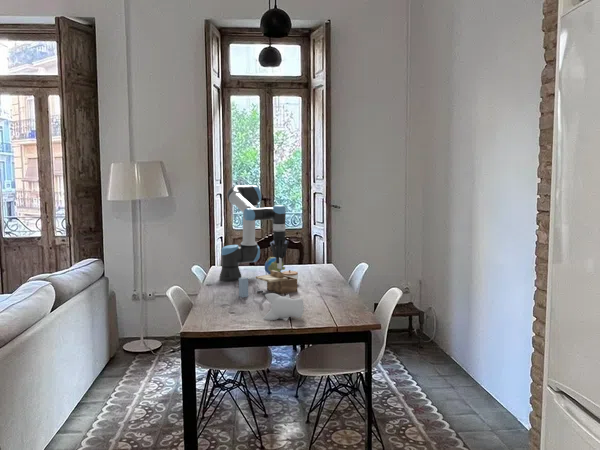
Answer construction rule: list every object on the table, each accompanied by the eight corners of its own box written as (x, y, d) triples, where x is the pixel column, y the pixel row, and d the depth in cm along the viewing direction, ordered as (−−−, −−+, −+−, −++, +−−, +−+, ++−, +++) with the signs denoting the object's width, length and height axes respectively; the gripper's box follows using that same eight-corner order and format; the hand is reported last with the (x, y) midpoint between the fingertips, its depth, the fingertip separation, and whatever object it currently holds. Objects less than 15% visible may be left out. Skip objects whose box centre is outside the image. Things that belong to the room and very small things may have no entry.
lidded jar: (288, 286, 345) (288, 272, 344) (278, 283, 353) (278, 269, 352) (301, 284, 352) (301, 270, 351) (291, 281, 360) (291, 268, 359)
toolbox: (267, 289, 336) (267, 276, 335) (283, 287, 342) (283, 274, 342) (280, 294, 323) (280, 280, 322) (297, 291, 329) (297, 278, 329)
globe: (265, 252, 388) (272, 256, 374) (284, 257, 395) (292, 261, 381) (259, 271, 388) (267, 275, 374) (279, 275, 395) (287, 280, 381)
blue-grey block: (239, 296, 318) (238, 277, 317) (245, 295, 320) (244, 277, 319) (242, 297, 314) (242, 278, 313) (248, 296, 317) (248, 278, 316)
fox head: (304, 298, 278) (266, 296, 279) (304, 293, 263) (263, 291, 263) (302, 324, 275) (264, 321, 275) (302, 321, 259) (261, 318, 260)
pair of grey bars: (256, 292, 327) (256, 290, 326) (262, 291, 329) (262, 290, 329) (263, 295, 320) (263, 293, 320) (268, 294, 323) (268, 292, 322)
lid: (255, 278, 331) (255, 271, 330) (272, 275, 338) (272, 269, 337) (269, 282, 317) (269, 275, 317) (287, 280, 324) (287, 273, 324)
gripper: (273, 231, 321) (273, 270, 324) (291, 230, 329) (291, 268, 331) (267, 230, 328) (267, 268, 330) (285, 229, 335) (285, 266, 337)
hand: (279, 268), depth 331 cm, fingers closed
